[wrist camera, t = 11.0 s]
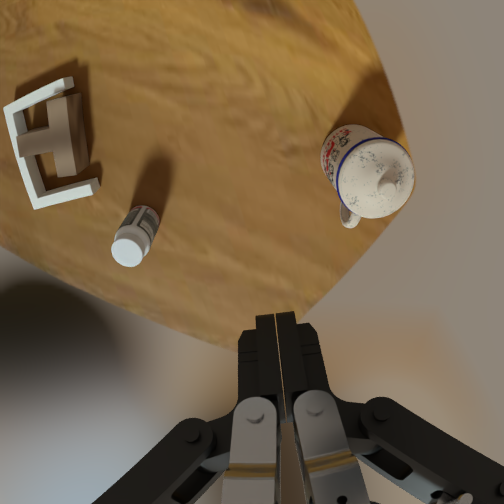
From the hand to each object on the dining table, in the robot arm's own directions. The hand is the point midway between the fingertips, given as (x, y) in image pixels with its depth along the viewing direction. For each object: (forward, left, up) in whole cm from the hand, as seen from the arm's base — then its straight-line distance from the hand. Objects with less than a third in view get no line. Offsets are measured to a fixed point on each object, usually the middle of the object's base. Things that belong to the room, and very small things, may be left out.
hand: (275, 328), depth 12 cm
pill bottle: (+8, -16, -29) cm, 34 cm away
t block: (-7, -25, -29) cm, 39 cm away
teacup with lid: (+4, +12, -29) cm, 32 cm away
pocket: (-6, -26, -29) cm, 39 cm away
